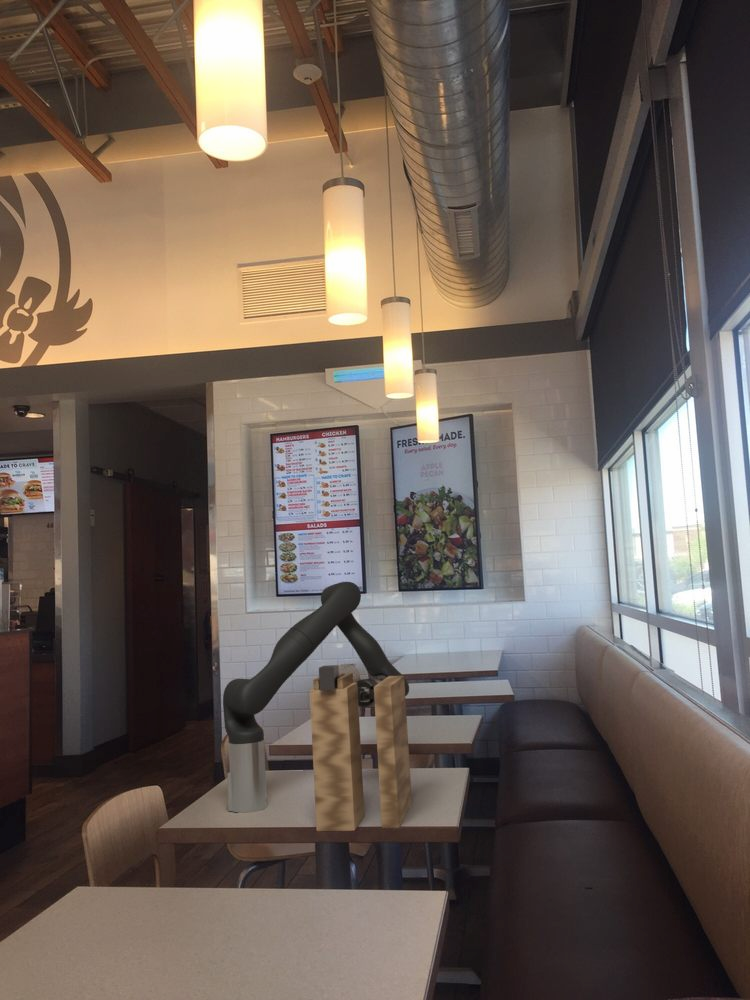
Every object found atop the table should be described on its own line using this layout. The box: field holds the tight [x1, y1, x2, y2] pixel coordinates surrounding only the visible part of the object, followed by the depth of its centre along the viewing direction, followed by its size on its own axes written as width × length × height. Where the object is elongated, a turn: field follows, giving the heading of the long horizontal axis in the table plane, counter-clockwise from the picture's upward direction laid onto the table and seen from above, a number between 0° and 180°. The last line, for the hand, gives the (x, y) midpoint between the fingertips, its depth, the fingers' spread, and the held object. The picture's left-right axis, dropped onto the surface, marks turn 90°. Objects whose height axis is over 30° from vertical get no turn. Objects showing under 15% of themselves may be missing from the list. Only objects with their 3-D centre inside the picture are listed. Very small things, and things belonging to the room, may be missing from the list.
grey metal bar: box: [318, 663, 357, 690], centre depth 206 cm, size 25×4×5 cm, turn 170°
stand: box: [309, 673, 413, 832], centre depth 204 cm, size 19×24×34 cm
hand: (344, 695), depth 218 cm, fingers open, 8 cm apart
